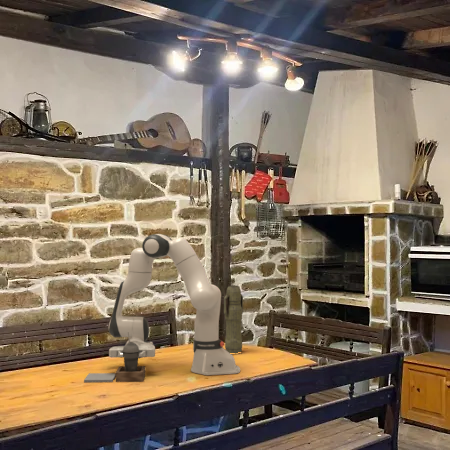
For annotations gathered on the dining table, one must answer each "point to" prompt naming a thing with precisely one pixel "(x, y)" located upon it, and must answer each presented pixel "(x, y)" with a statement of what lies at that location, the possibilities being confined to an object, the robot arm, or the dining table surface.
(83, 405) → the dining table surface
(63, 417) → the dining table surface
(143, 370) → the walnut collar
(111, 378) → the slate mat
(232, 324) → the thermos
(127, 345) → the beverage cup
